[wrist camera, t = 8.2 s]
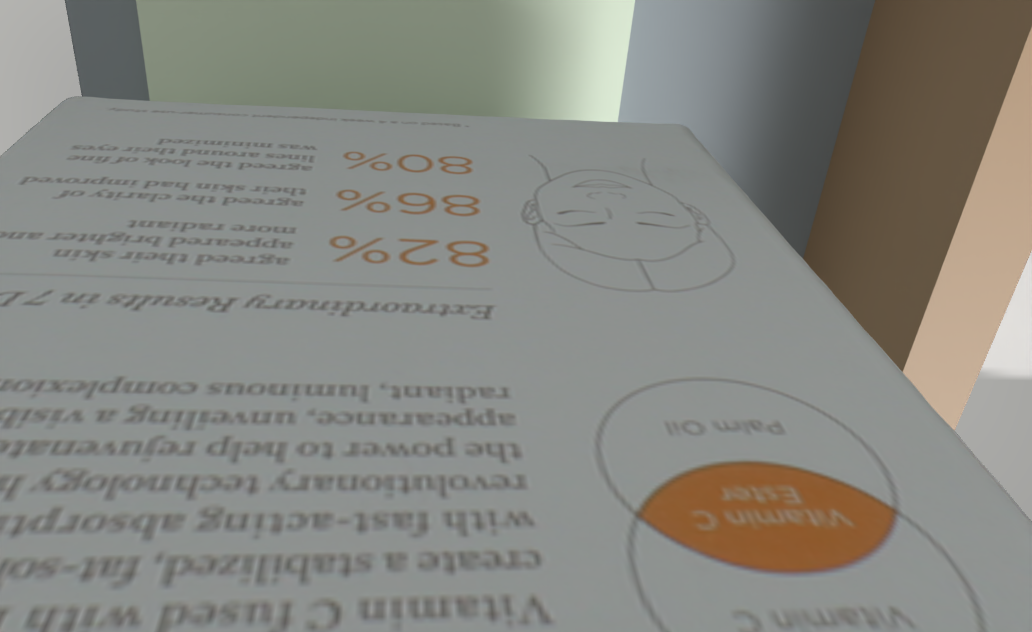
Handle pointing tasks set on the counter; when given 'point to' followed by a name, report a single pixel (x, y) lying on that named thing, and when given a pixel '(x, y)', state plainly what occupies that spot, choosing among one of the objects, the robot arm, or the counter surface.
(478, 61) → the pad
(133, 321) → the small box
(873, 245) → the arena
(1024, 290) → the counter surface
